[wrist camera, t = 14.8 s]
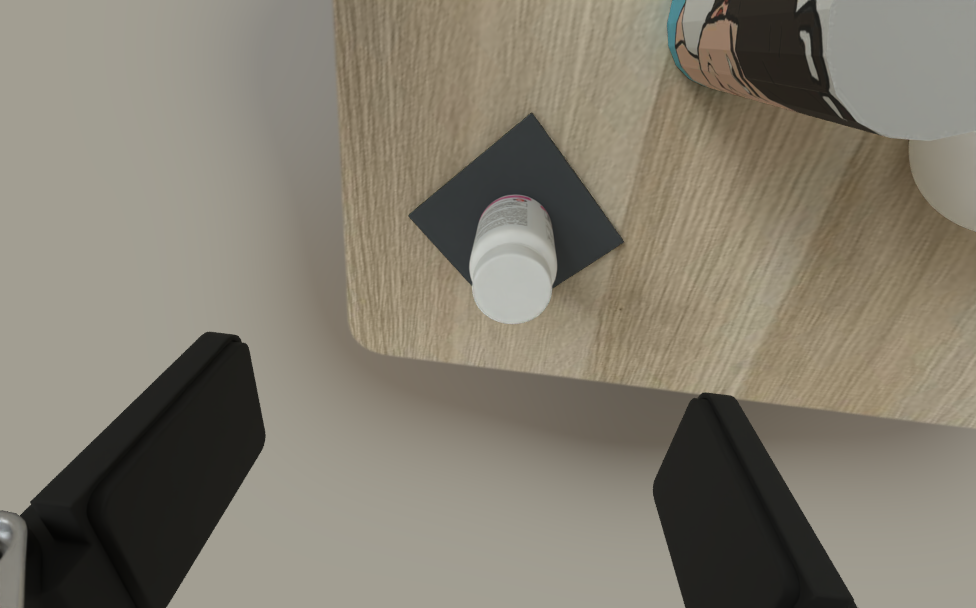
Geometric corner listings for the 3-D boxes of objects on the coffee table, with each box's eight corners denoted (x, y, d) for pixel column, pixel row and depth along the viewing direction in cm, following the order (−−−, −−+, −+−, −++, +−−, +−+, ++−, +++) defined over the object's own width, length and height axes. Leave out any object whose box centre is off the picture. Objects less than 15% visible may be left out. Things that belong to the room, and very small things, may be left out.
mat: (409, 214, 30) (408, 216, 30) (531, 112, 27) (531, 113, 26) (503, 317, 34) (503, 320, 34) (623, 240, 30) (624, 242, 30)
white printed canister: (639, 42, 25) (765, 49, 12) (735, -100, 22) (1048, -304, 9) (734, 112, 26) (940, 187, 13) (836, -12, 23) (1239, -75, 10)
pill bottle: (465, 241, 31) (446, 304, 23) (501, 178, 28) (492, 227, 21) (527, 274, 32) (527, 345, 24) (566, 216, 29) (579, 275, 22)
